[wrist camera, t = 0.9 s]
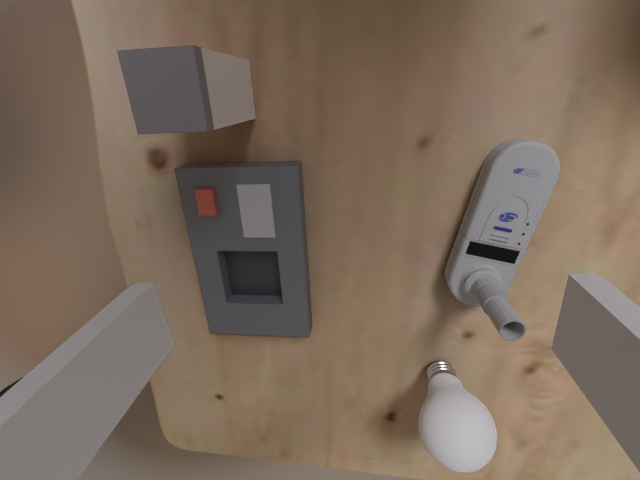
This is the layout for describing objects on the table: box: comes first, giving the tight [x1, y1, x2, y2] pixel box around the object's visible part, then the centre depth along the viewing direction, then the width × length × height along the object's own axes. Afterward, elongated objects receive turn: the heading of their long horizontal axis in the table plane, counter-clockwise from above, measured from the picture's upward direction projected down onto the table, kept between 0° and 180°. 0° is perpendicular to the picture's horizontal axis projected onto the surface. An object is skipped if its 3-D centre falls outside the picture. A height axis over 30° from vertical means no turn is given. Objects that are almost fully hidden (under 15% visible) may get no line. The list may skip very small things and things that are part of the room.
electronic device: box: [444, 139, 560, 341], centre depth 27 cm, size 5×10×15 cm
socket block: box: [175, 161, 312, 337], centre depth 33 cm, size 18×11×2 cm, turn 3°
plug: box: [117, 45, 256, 134], centre depth 24 cm, size 4×4×10 cm
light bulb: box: [418, 361, 497, 473], centre depth 33 cm, size 7×7×11 cm
